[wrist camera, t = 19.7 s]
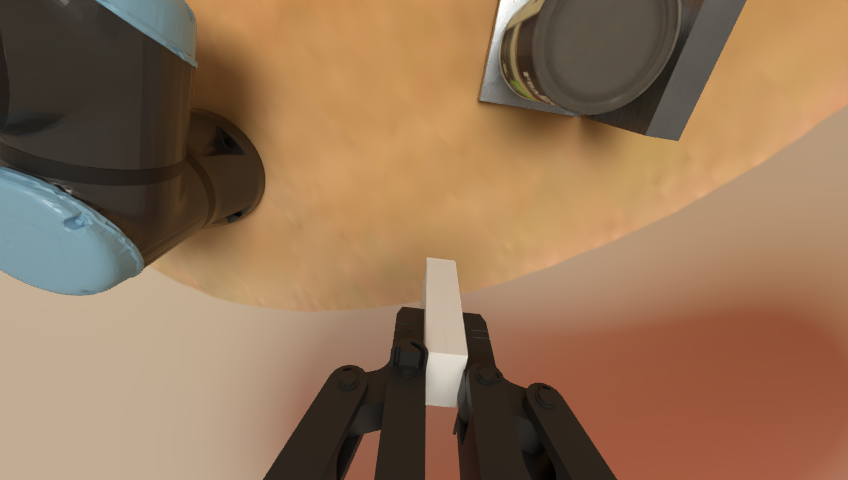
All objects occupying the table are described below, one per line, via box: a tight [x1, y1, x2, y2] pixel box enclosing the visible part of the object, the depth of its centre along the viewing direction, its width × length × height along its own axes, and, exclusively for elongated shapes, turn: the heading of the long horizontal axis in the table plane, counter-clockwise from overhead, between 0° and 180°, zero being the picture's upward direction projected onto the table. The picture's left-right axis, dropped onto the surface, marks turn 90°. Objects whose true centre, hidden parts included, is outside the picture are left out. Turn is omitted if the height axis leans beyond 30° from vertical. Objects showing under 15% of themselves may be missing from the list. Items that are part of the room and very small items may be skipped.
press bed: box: [478, 0, 746, 141], centre depth 32 cm, size 16×12×14 cm
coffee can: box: [499, 0, 681, 115], centre depth 30 cm, size 10×10×14 cm
